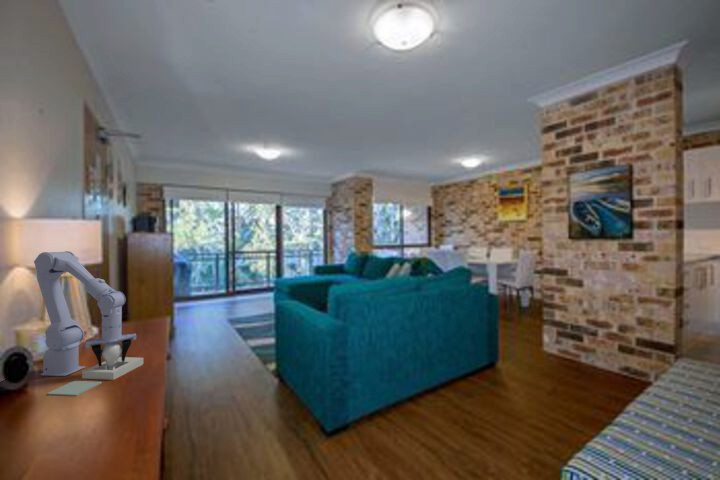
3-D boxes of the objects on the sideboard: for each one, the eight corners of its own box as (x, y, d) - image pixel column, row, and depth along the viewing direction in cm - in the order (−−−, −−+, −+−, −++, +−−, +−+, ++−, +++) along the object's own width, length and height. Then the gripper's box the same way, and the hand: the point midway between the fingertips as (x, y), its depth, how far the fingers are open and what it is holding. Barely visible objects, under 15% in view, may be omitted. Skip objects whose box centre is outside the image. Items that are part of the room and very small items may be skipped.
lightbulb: (110, 376, 114) (110, 345, 114) (95, 375, 115) (96, 344, 115) (126, 369, 120) (127, 340, 120) (112, 368, 122) (113, 339, 122)
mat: (46, 394, 101) (46, 393, 101) (74, 381, 110) (74, 380, 110) (76, 395, 100) (76, 394, 100) (101, 383, 109) (101, 381, 109)
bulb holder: (82, 378, 112) (82, 371, 112) (115, 363, 126) (115, 356, 126) (113, 379, 112) (113, 372, 112) (143, 364, 126) (143, 357, 126)
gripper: (86, 331, 110) (85, 371, 110) (137, 324, 120) (137, 361, 120) (85, 327, 115) (85, 365, 115) (134, 320, 125) (134, 356, 125)
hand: (111, 363), depth 118 cm, fingers closed on lightbulb, 6 cm apart
